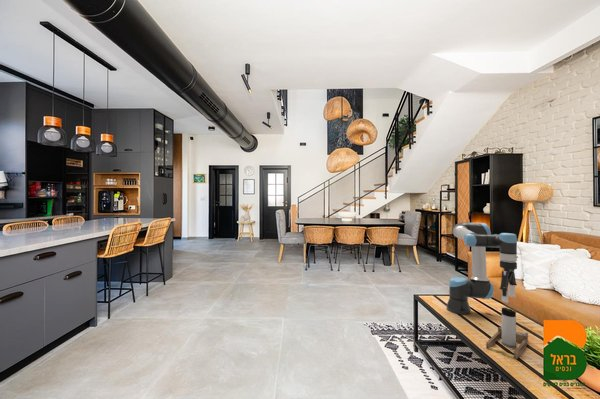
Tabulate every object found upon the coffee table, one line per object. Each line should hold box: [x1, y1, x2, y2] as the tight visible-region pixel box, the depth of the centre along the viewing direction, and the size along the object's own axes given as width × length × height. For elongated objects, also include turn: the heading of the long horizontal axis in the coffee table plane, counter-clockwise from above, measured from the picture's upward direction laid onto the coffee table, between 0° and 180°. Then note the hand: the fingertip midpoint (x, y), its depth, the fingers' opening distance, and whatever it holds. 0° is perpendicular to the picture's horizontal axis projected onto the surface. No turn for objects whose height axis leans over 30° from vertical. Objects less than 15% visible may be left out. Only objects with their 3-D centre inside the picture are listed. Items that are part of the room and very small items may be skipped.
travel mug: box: [501, 307, 517, 349], centre depth 144 cm, size 6×7×20 cm
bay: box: [485, 326, 529, 360], centre depth 144 cm, size 13×27×5 cm, turn 128°
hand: (508, 299), depth 144 cm, fingers open, 13 cm apart
